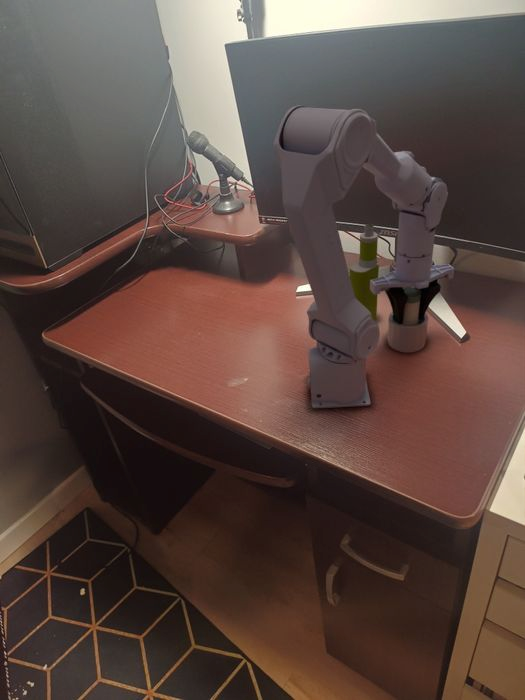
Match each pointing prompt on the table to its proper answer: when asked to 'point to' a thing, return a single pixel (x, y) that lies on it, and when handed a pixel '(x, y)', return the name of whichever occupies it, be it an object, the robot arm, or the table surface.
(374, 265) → the vape
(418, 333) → the light grey round cup
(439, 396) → the table surface
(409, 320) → the cylinder
